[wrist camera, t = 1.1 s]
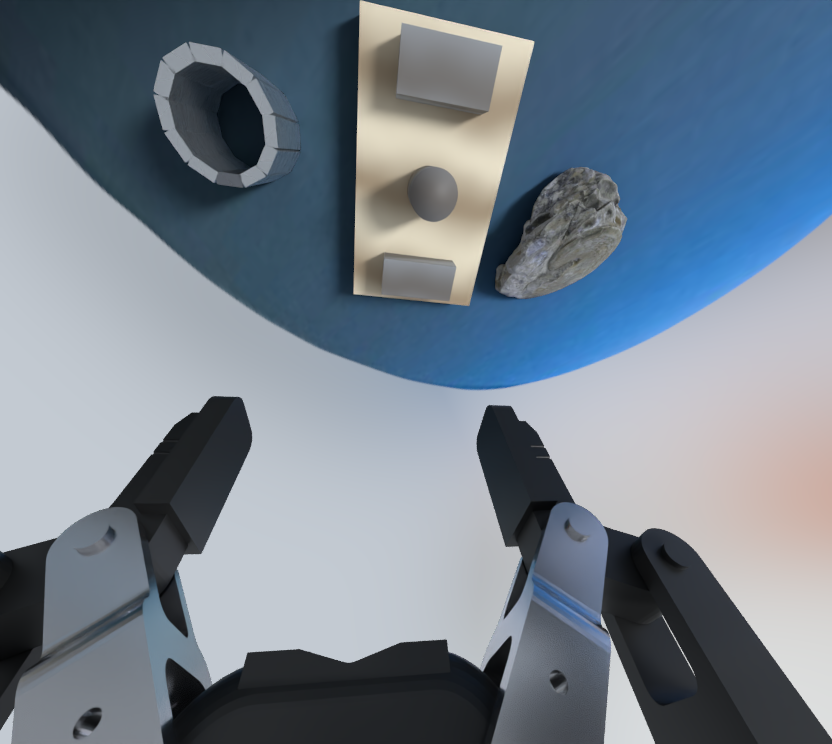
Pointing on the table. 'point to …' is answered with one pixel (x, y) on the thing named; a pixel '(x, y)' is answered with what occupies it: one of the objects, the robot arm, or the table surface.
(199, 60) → the hub ring
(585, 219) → the fossilized seashell
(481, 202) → the shaft block
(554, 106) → the table surface
